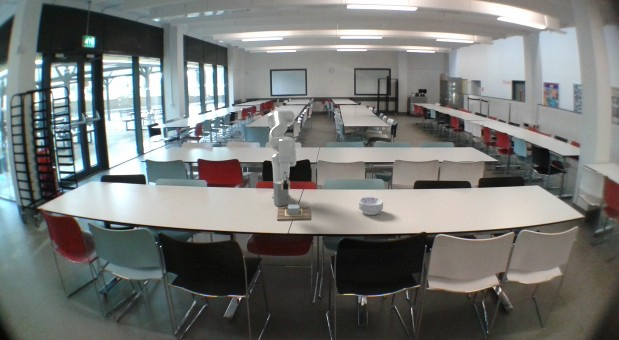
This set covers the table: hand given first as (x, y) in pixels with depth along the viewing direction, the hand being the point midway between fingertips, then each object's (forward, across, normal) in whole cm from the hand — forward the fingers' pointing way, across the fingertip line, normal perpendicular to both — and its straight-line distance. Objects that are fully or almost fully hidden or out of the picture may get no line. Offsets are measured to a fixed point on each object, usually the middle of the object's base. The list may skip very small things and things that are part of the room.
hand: (285, 187), depth 215 cm
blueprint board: (+17, 0, +4) cm, 18 cm away
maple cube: (+1, 0, 0) cm, 1 cm away
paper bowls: (+18, -1, +53) cm, 56 cm away
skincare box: (+18, -18, -4) cm, 26 cm away
